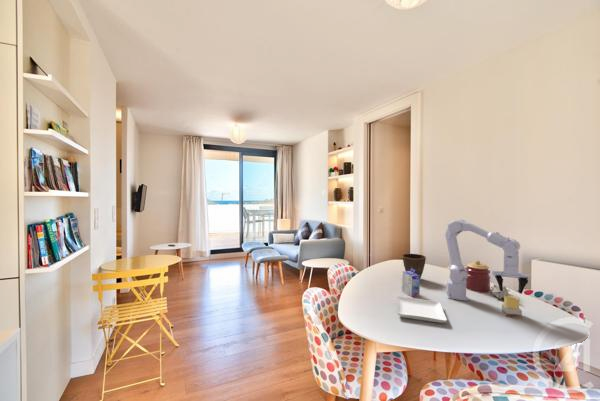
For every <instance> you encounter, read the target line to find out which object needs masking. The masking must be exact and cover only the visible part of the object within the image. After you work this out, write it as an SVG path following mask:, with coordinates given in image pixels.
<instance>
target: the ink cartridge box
mask: <svg viewBox="0 0 600 401" xmlns="http://www.w3.org/2000/svg"><path fill="white" fill-rule="evenodd" d="M411 270H413V271H414V272H415V270H414V269H412V268H411ZM411 270H410V271H404V270H403V271H402V275H401V279H402V281H401V282H402V283H401V292H403V293H405V294H406V295H408V296H410V298H414V297H420V292H421V291H420V289H421V287H420V286H421V284H420V283H421V278H420V275H417V274H415V273H414V272H412V271H411Z"/></svg>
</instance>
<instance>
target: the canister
mask: <svg viewBox="0 0 600 401" xmlns="http://www.w3.org/2000/svg"><path fill="white" fill-rule="evenodd" d="M489 269H490V268H489V266H488V265H486V264H484V263H482V262H481V261H480V260H475V261H474V262H469V263H467V264H466V267H465V270H466V272H467V273H468V278H467V279H466V290H467V289H468V290H469V291H473V292H478V293H488V292H491V291H490V290H491V276H490V273H491V270H489Z"/></svg>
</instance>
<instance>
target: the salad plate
mask: <svg viewBox="0 0 600 401" xmlns="http://www.w3.org/2000/svg"><path fill="white" fill-rule="evenodd" d="M396 304H397V305H396V306H397V308H396V314H397V315H398V316H399V317H402V318H405V319H410V318H411V319H412V320H417V321H423V322H424V321H426V322H432V323H440V324H441V323H443V324H444V323H446V322H447V321H448V318H447V316H446V314H445V312H444V309H443V306H442V304H441V302H439V301H435V300H428V299H421V298H414V297H405V296H397V297H396Z"/></svg>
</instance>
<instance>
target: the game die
mask: <svg viewBox="0 0 600 401" xmlns="http://www.w3.org/2000/svg"><path fill="white" fill-rule="evenodd" d="M506 287H507V286H506V285H505V286H503V291H500V289H499V285H498V284H497V285H496V284H493V286H490V289H491V291H489V292H490V294H493V297H496V298H498V300H499V301H500V300H501V299H504V295H506V296H509V292H510V289H509V290H508V289H507V288H506Z"/></svg>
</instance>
